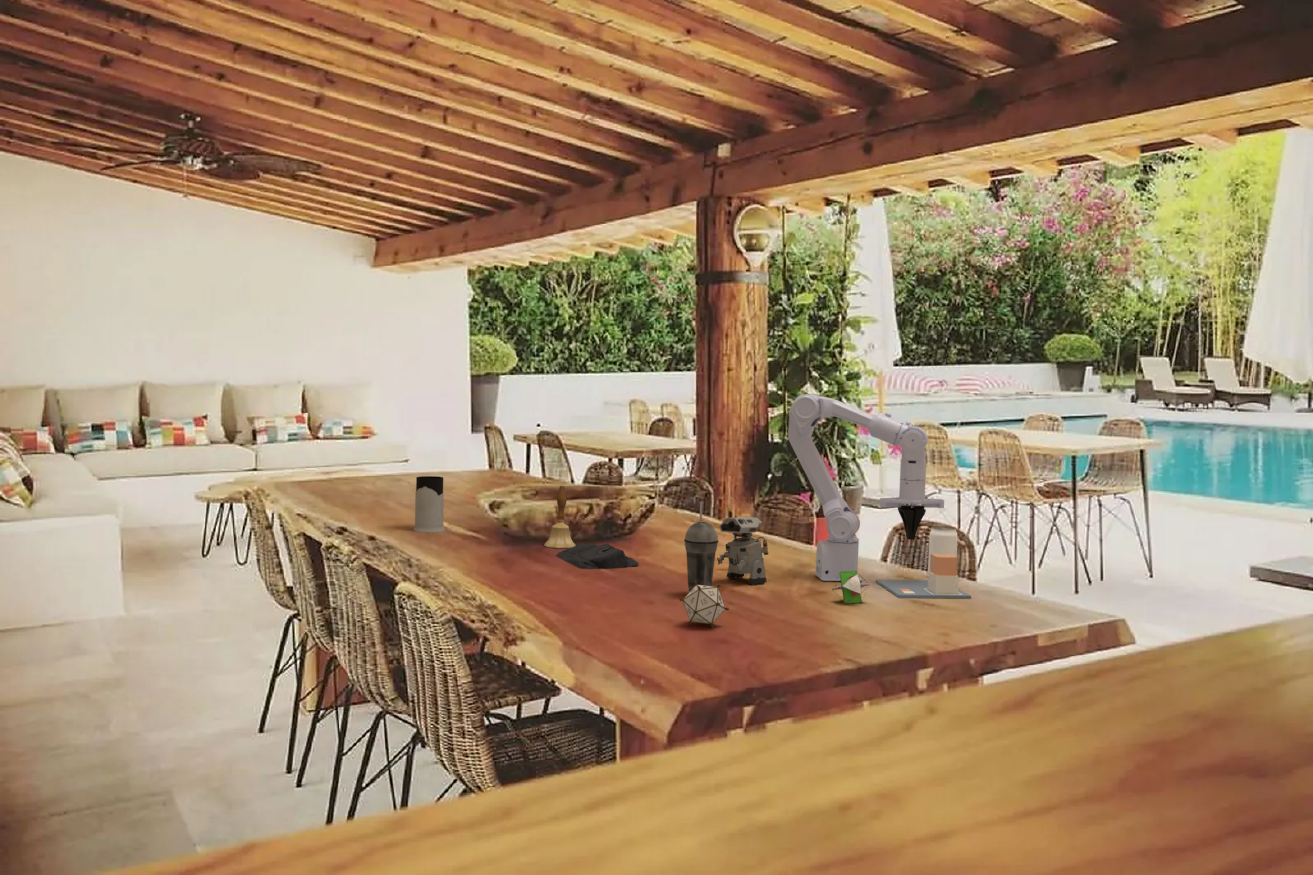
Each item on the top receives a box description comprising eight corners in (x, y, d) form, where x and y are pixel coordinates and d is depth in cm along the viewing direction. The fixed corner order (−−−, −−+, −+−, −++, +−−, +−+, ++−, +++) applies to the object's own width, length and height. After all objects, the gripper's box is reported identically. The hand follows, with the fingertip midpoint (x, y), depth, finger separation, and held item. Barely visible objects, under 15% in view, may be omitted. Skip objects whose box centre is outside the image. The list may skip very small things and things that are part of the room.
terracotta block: (936, 575, 255) (937, 557, 254) (929, 571, 259) (930, 553, 259) (956, 575, 255) (957, 557, 255) (949, 572, 259) (950, 554, 259)
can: (956, 580, 275) (958, 529, 274) (928, 579, 276) (930, 528, 275) (955, 576, 281) (957, 526, 280) (927, 574, 282) (929, 524, 282)
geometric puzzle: (823, 588, 249) (836, 562, 245) (850, 586, 252) (864, 560, 247) (836, 613, 244) (850, 587, 240) (864, 611, 247) (878, 585, 242)
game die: (693, 643, 221) (675, 595, 226) (735, 627, 222) (717, 580, 226) (689, 629, 213) (671, 580, 218) (733, 613, 214) (714, 564, 218)
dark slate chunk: (608, 554, 301) (609, 536, 301) (642, 569, 281) (642, 549, 281) (551, 557, 295) (552, 538, 295) (582, 572, 275) (582, 552, 275)
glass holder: (408, 531, 328) (409, 478, 327) (426, 525, 342) (427, 473, 341) (438, 533, 327) (439, 479, 326) (455, 526, 341) (456, 475, 340)
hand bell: (558, 542, 316) (559, 483, 315) (582, 546, 311) (583, 486, 310) (537, 546, 309) (539, 485, 308) (561, 549, 304) (563, 488, 303)
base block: (935, 594, 254) (936, 575, 254) (927, 589, 259) (928, 571, 259) (957, 594, 255) (958, 576, 255) (949, 589, 260) (950, 571, 260)
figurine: (707, 581, 265) (709, 515, 264) (745, 577, 272) (747, 512, 271) (732, 588, 258) (735, 520, 257) (772, 583, 265) (774, 517, 264)
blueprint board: (898, 597, 252) (899, 594, 252) (875, 582, 270) (875, 579, 270) (971, 598, 254) (971, 595, 254) (943, 582, 272) (943, 579, 271)
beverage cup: (720, 593, 251) (723, 500, 250) (711, 599, 245) (714, 504, 243) (688, 590, 254) (691, 498, 253) (678, 596, 247) (680, 501, 246)
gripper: (886, 481, 263) (884, 541, 263) (949, 481, 264) (947, 541, 265) (877, 478, 270) (875, 536, 270) (939, 478, 271) (937, 537, 272)
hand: (910, 539), depth 268 cm, fingers closed
